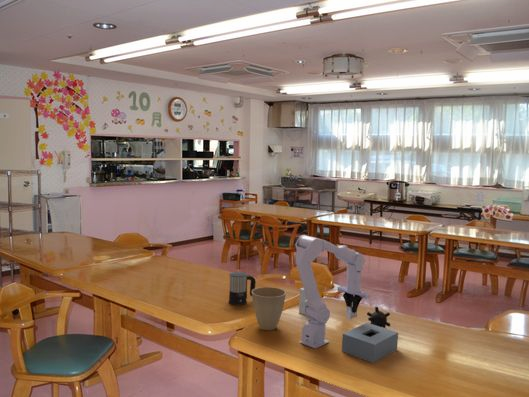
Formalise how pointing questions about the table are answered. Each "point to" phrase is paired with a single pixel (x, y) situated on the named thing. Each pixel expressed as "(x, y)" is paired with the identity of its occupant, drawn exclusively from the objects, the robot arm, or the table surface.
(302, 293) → the skincare box
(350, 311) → the wooden block
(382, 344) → the grey square hole block
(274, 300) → the plant pot
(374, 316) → the toy ball
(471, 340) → the table surface
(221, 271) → the table surface
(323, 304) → the robot arm
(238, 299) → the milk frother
